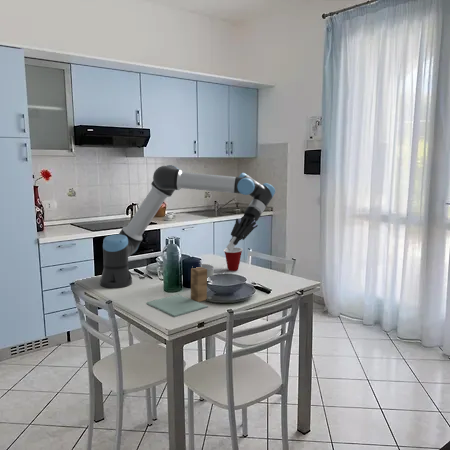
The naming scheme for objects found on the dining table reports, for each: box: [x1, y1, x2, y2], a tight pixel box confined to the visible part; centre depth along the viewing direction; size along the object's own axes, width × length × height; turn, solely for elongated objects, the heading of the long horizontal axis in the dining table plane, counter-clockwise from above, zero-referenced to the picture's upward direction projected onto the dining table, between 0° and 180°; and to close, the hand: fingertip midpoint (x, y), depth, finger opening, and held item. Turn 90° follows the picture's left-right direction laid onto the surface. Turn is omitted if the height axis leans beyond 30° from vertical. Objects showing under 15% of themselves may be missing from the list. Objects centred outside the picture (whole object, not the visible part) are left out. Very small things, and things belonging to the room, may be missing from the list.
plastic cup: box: [223, 246, 243, 272], centre depth 236 cm, size 11×11×12 cm
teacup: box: [200, 263, 215, 278], centre depth 212 cm, size 14×11×8 cm
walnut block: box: [190, 267, 208, 303], centre depth 185 cm, size 5×5×14 cm
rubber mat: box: [146, 293, 208, 318], centre depth 177 cm, size 20×17×1 cm
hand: (228, 249), depth 194 cm, fingers closed
